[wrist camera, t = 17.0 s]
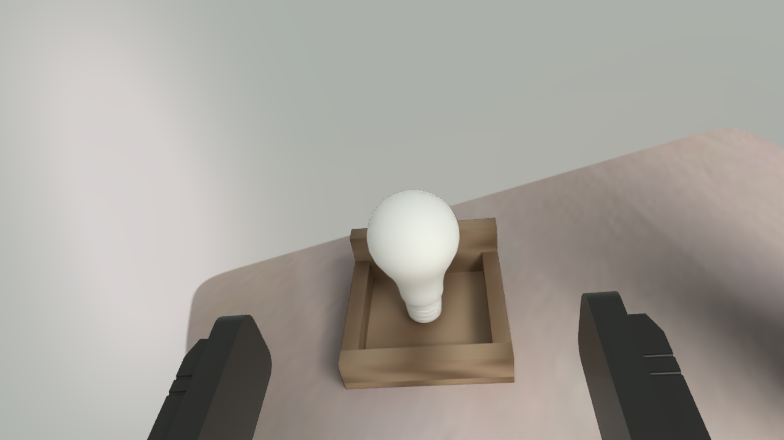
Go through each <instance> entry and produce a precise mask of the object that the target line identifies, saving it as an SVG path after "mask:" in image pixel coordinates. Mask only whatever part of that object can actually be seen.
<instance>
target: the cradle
mask: <svg viewBox="0 0 784 440" xmlns="http://www.w3.org/2000/svg"><path fill="white" fill-rule="evenodd" d="M457 223H458V226H459V236H460V239H459V244H458V249H457V252H456V254H455V256H454V258H453V260H452V262H451V264H450V266H449V267H448V269H447V270H446V272H445V274H444V279H443V293H442V295H441V302H442V304H441V309H442V310H441V313H440V315H439V316H438V317H437V318H436V319H435V320H433V321H431V322H428V323H420V322H417V321H414V320H413V319H412V318H411V317H410V316H409V313H408V311H407V307H406V303H405V301H404V300H403V299H402V297H401V295H400V291H399V288H398V286H397V284H396V283H395V281H394V280H393V279H392V278H391V277H389V276H388V275H387V274H386V273H385V272H384V271H383V270H382V269H381V268H380V267H379V266H378V265H377V264H376V263H375V261H374V259H373V257H372V256H371V254H370V252H369V248H368V243H367V229H368V228H363V229H352V230H351V235H350V242H351V245H352V249H353V253H354V257H355V261H356V262H355V268H354V274H353V280H352V286H351V291H350V297H349V303H348V309H347V315H346V321H345V327H344V332H343V338H342V344H341V350H340V356H339V362H338V367H339V370H340V373H341V376H342V379H343V382H344V385H345V388H346V389H353V388H379V387H405V386H431V385H456V384H482V383H508V382H514V355H513V348H512V342H511V335H510V329H509V322H508V316H507V309H506V303H505V297H504V290H503V284H502V277H501V271H500V264H499V258H498V252H497V227H496V221H495V218H485V219H473V220H461V221H457Z"/></svg>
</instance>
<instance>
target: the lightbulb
mask: <svg viewBox="0 0 784 440" xmlns="http://www.w3.org/2000/svg"><path fill="white" fill-rule="evenodd" d="M459 239H460V236H459V226H458V223H457V220H456V218H455V215H454V213H453V212H452V210H451V208H450V207H449V206H448V205H447V204H446V203H445V202H444V201H443V200H441V199H440V198H438V197H437V196H435V195H434V194H431V193H429V192H426V191H421V190H405V191H401V192H398V193H395V194H393V195H391V196H389V197H388V198H386V199H384V200H383V201H382V202H381V203H380V204H379V206H378V207H377V208H376V209H375V211H374V213H373V214H372V216H371V218H370V220H369V224H368V229H367V243H368V248H369V252H370V254H371V256H372V257H373V259H374V261H375V263H376V264H377V265H378V266H379V267H380V268H381V269H382V270H383V271H384V272H385V273H386V274H387V275H388V276H389V277H391V278H392V279H393V280H394V281H395V283H396V284H397V286H398V288H399V291H400V295H401V297H402V299H403V300H404V301H405V303H406V307H407V311H408V313H409V316H410V317H411V318H412V319H413V320H414V321H417V322H420V323H428V322H431V321H433V320H435V319H436V318H437V317H438V316H439V315H440V313H441V310H442V309H441V304H442V302H441V295H442V293H443V279H444V274H445V272H446V270H447V269H448V267H449V266H450V264H451V262H452V260H453V258H454V256H455V254H456V252H457V249H458V244H459Z"/></svg>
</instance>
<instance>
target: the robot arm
mask: <svg viewBox="0 0 784 440" xmlns="http://www.w3.org/2000/svg"><path fill="white" fill-rule="evenodd" d="M578 344H579V353H580V358H581V363H582V366H583V370H584V374H585V378H586V381H587V385H588V389H589V393H590V396H591V400H592V404H593V408H594V411H595V415H596V419H597V423H598V426H599V430H600V434H601V438H602V440H711V438H710V436H709V433H708V431H707V429H706V427H705V424H704V422H703V420H702V418H701V415H700V413H699V411H698V408H697V406H696V404H695V402H694V399H693V397H692V395H691V393H690V390H689V388H688V386H687V383H686V381H685V379H684V377H683V375H681V370H680V368H679V365H678V363H677V361H676V358H675V357H674V356H673V352H672V349H671V347H670V345H669V343H668V340H667V338H666V336H665V333H664V331H663V330H662V329H661V328H660V327H659V326H658V325H657V324H656V323H655V322H654V321H653V320H652V319H651V318H650V317H649V316H647V315H646V314H629V315H627V312H626V309H625V307H624V304H623V302H622V299H621V297H620V295H619V293H618V292H617V291H613V292H598V293H583V294H582V297H581V308H580V320H579V332H578ZM271 368H272V363H271V355H270V352H269V349H268V347H267V345H266V343H265V341H264V339H263V337H262V335H261V333H260V331H259V329H258V327H257V325H256V323H255V321H254V319H253V318H252V316H250V315H238V316H223V317H219V318H218V319H217V320H216V322H215V324H214V326H213V328H212V331H211V333H210V336H209V338H208V339H200V340H199V341H198V342H197V343H196V344H195V345H194V347H193V348H192V349H191V350H190V351H189V352H188V353H187V355H186V356H185V357H184V359H183V361H182V364H181V366H180V368H179V371H178V373H177V375H176V380H174V381H173V384H172V386H171V388H170V390H169V396H167V397H166V399H165V402H164V404H163V406H162V408H161V410H160V412H159V415H158V417H157V419H156V421H155V424H154V426H153V428H152V430H151V432H150V435H149V437H148V439H147V440H252V438H253V435H254V431H255V428H256V425H257V421H258V418H259V414H260V411H261V407H262V404H263V400H264V397H265V393H266V390H267V386H268V383H269V379H270V375H271Z"/></svg>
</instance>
